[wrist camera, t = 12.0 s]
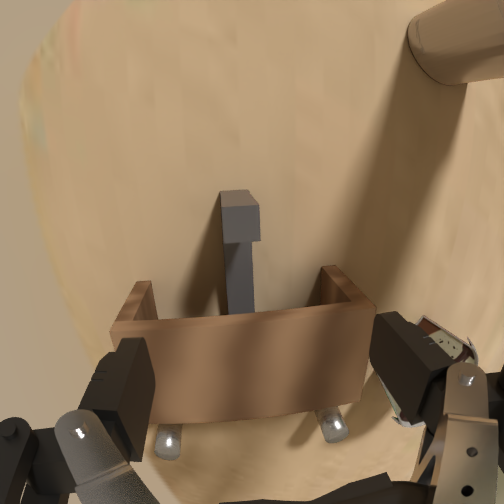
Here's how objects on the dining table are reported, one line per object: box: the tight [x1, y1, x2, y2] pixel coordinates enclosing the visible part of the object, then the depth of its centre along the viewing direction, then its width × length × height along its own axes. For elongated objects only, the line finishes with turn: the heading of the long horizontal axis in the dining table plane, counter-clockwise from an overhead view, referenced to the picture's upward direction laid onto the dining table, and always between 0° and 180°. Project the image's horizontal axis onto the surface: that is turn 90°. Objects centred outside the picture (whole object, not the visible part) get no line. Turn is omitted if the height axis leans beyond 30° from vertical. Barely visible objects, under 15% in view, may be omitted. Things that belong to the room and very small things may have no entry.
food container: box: [377, 315, 478, 427], centre depth 32 cm, size 12×6×10 cm, turn 142°
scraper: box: [220, 190, 261, 315], centre depth 27 cm, size 10×18×9 cm, turn 3°
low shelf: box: [109, 265, 376, 424], centre depth 28 cm, size 20×10×10 cm, turn 93°
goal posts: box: [154, 406, 349, 460], centre depth 34 cm, size 23×3×6 cm, turn 93°
